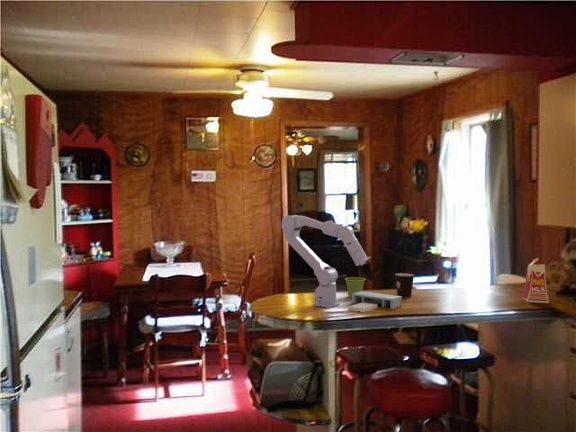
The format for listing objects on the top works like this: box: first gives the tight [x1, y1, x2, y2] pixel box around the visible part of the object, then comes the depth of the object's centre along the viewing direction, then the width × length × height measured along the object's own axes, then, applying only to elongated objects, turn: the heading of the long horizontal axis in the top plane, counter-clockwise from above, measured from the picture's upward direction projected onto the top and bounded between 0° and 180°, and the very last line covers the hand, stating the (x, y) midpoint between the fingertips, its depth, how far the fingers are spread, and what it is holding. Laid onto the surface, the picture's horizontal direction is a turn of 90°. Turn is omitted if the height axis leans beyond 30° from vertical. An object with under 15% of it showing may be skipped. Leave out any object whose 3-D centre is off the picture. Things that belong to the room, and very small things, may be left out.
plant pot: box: [344, 276, 366, 299], centre depth 266 cm, size 9×9×9 cm
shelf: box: [351, 290, 403, 310], centre depth 249 cm, size 8×20×4 cm, turn 52°
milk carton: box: [523, 257, 549, 304], centre depth 261 cm, size 9×9×20 cm
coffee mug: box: [393, 272, 415, 298], centre depth 272 cm, size 12×9×10 cm
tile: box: [348, 301, 379, 313], centre depth 240 cm, size 12×7×2 cm, turn 143°
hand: (372, 280), depth 239 cm, fingers open, 7 cm apart
